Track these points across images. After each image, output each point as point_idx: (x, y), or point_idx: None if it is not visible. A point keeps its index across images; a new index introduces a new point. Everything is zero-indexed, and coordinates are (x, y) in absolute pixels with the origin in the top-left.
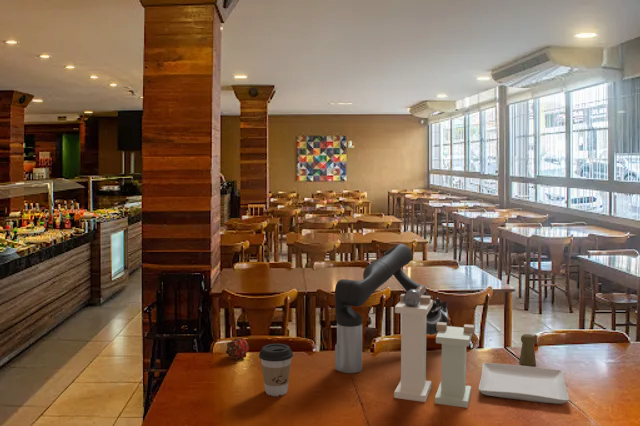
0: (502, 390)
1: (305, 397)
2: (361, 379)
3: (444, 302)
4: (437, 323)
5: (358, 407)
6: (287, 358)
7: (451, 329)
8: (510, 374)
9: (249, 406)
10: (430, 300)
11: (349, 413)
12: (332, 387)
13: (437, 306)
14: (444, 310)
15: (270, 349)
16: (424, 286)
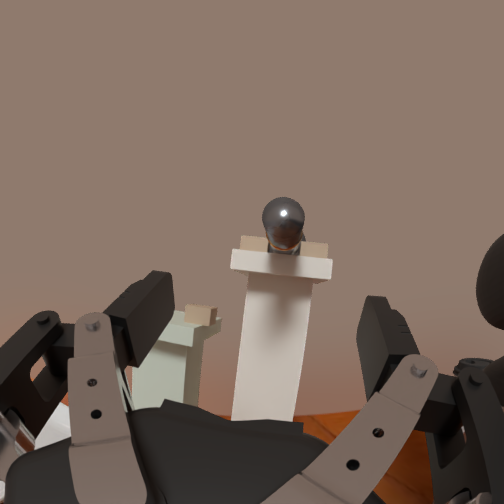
0: (46, 439)
1: (419, 431)
2: (393, 496)
3: (58, 319)
4: (213, 307)
5: (335, 431)
6: (454, 371)
7: (173, 319)
8: None
9: None
10: (240, 248)
11: (338, 421)
12: (414, 458)
13: (136, 362)
14: (32, 424)
15: (479, 361)
16: (271, 203)
